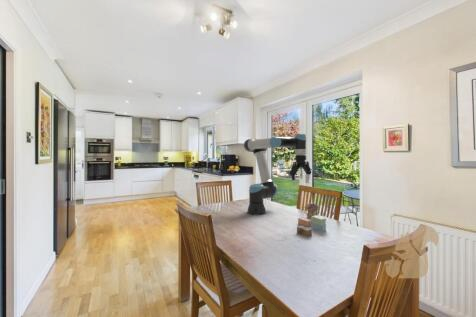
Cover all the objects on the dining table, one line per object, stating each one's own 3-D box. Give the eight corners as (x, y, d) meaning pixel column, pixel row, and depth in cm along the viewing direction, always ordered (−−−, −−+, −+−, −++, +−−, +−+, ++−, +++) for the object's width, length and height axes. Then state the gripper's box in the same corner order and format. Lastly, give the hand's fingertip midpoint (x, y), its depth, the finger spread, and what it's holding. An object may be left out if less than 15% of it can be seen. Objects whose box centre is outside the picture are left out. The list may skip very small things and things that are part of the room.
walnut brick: (296, 233, 135) (296, 226, 135) (301, 231, 137) (301, 225, 137) (307, 237, 128) (307, 230, 128) (311, 235, 130) (311, 229, 130)
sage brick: (325, 224, 138) (325, 218, 138) (321, 225, 136) (321, 219, 136) (315, 221, 145) (315, 215, 145) (311, 222, 143) (311, 216, 143)
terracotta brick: (298, 223, 152) (298, 218, 152) (302, 222, 154) (302, 217, 154) (307, 227, 145) (307, 221, 145) (311, 226, 148) (311, 220, 147)
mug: (317, 217, 166) (317, 203, 166) (320, 221, 157) (320, 206, 156) (301, 217, 167) (301, 203, 166) (303, 221, 157) (303, 206, 157)
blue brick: (311, 228, 142) (311, 222, 142) (314, 227, 145) (314, 221, 145) (322, 231, 136) (322, 225, 136) (325, 230, 139) (325, 224, 139)
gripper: (292, 155, 150) (292, 185, 150) (316, 154, 163) (316, 182, 163) (284, 155, 156) (284, 184, 157) (308, 154, 169) (308, 181, 170)
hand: (300, 183), depth 160 cm, fingers open, 13 cm apart
